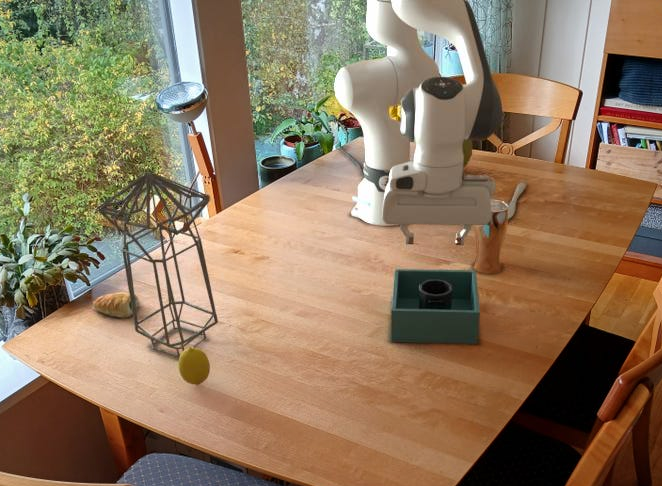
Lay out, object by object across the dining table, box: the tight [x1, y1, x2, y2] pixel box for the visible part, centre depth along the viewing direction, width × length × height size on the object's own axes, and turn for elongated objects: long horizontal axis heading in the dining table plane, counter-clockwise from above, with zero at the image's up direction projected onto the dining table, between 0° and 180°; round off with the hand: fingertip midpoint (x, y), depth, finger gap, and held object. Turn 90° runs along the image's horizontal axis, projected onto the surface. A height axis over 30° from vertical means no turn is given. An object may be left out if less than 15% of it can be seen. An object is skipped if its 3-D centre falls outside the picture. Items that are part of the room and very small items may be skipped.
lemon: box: [177, 346, 211, 386], centre depth 133 cm, size 6×6×8 cm
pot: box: [419, 279, 452, 310], centre depth 148 cm, size 9×6×7 cm
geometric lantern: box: [93, 172, 219, 358], centre depth 137 cm, size 16×16×35 cm
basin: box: [390, 268, 481, 345], centre depth 148 cm, size 17×17×7 cm
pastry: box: [92, 291, 140, 319], centre depth 158 cm, size 9×7×4 cm
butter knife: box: [508, 182, 527, 220], centre depth 196 cm, size 1×27×3 cm
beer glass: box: [473, 198, 509, 275], centre depth 163 cm, size 7×7×15 cm
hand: (434, 243), depth 141 cm, fingers open, 8 cm apart
